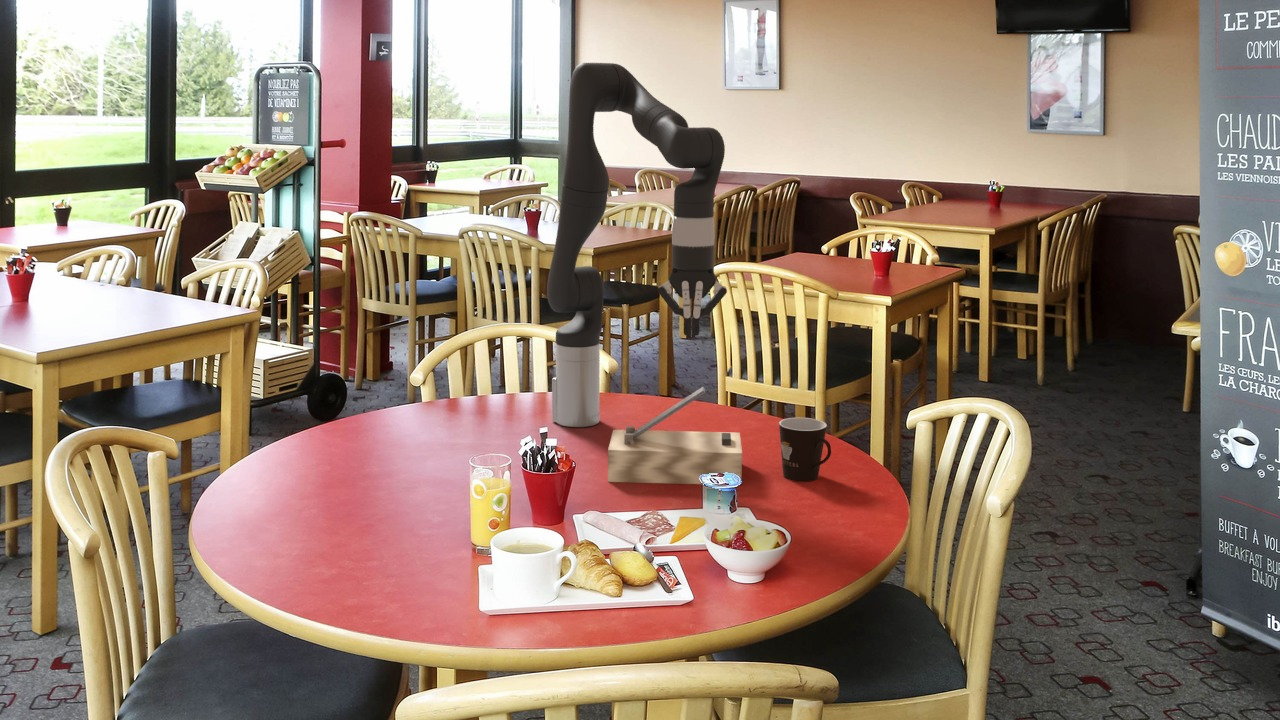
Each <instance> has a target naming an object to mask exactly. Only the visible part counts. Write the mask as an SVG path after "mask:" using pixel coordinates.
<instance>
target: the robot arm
mask: <svg viewBox="0 0 1280 720" xmlns="http://www.w3.org/2000/svg"><path fill="white" fill-rule="evenodd" d="M570 79H571V80H570V82H569V83H570V85H569V99H568V100H569V101H568V103H569V104H568V126H567V127H568V130H567V131H568V132H567V133H568V134H567V145H566V146H567V147H566V154H565V155H566V156H565V164H564V165H565V166H564V172H563V176H562V177H563V178H562V184H561V193H560V203H559V205H560V206H559V215H558V216H559V217H558V224H557V232H556V238H555V244H554V248H553V253H552V259H551V263H550V268H549V272H548V278H547V284H546V286H547V287H546V295H547V302H548V305H549V306H550V308H551V310H553V311H554V312H556V313H560V314H562V313H563V314H565V313H575V315H574V316H573V318H572V319H571V320H570V321H569V322H567V323H566V324H563V325H562V326H560V327H558V328H557V330H556V332H555V376H554V377H553V378H552V379H551V399H552V400H551V405H552V406H551V407H552V409H551V414H552V415H551V416H552V417H551V418H552V419H551V420H552V421H551V422H553V423H557V424H558V425H560V426H562V427H563V426H564V427H570V428H586V427H592V426H595V425H597V424H599V423H600V413H601V412H600V381H601V378H600V375H601V374H600V362H601V360H600V358H601V357H600V353H601V352H600V348H601V347H600V338H601V333H602V329H603V328H602V327H603V313H604V299H605V298H604V294H605V293H604V291H605V290H604V281H603V276H602V275H601V273H600V271H599V270H598V268H597V267H594V266H591V265H589V266H586V265H585V266H576V265H577V261H578V258H579V255H580V252H581V249H582V248H583V246H584V245H585V243H586V241H587V240H588V239H589V237H590V236H591V235H592V233H593V232H594V230H595V229H597V226H598V225H599V223H600V222H601V220H602V218H603V216H604V214H605V211H606V208H607V202H608V196H609V188H610V187H609V186H610V177H609V173H608V170H607V167H606V165H605V162H604V160H603V158H602V156H601V154H600V152H599V149H598V147H597V145H596V141H595V136H594V134H595V133H594V123H595V116H596V115H595V114H596V113H612V112H615V111H616V112H622V113H625V114H627V115H630V116H631V121H632V122H631V123H632V124H633V127H634V129H635V131H636V132H637V133H638V134H639V135H640V136H641V137H643V138H644V139H645V140H646V141H648V142H650V143H651V144H652V145H654V146H655V147H657V150H659V151H658V152H660V154H661V155H662V156H663V158H664V159H665V161H666V162H667V163H668V164H669V165H670V166H672V167H675V168H677V169H682V170H685V169H686V170H689V169H694V170H693V173H692V176H691V178H690V179H689V180H687V181H683V182H681V183H679V184H676V186H675V188H674V193H673V222H672V231H671V272H670V274H669V276H668V280H667V281H665V283H663V284H660V285H658V288H657V292H658V294H659V296H661V298H662V299H663V301H664V302H665V304H666V305H667V306H668V307H669V308H670V309H671V311H672V312H673V313H674V314H675V315H678V316H681V317H682V319H683V334H684V336H686V337H687V338H686V339H688V340H689V339H692V340H693V339H696V336H697V337H698V336H699V334H700V319H701V318H702V317H704V316H709V315H710V313H712V311H713V310H714V309H715V308H716V306H717V305H719V303H720V302H721V301H722V300H723V298H724V297H725V296H726V294H727V292H728V289H727V287H726V286H724V285H722V284H721V283H720V282H718V281H717V276H716V274H715V240H716V235H715V232H716V231H715V223H714V222H715V221H714V213H715V212H714V209H715V208H714V207H715V203H714V202H715V201H714V199H715V192H716V188H717V185H718V181H719V177H720V173H721V170H722V166H723V165H724V164H723V163H724V159H725V153H726V151H725V147H726V145H725V141H724V139H723V136H722V134H721V133H720V132H719V130H717V129H716V128H713V127H710V126H709V127H707V126H706V127H703V126H702V127H689V123H688V121H687V120H686V118H685V117H684V116H683V115H682V114H680V113H679V112H677V111H675V110H673V109H672V108H671V107H669V106H667V105H666V104H664V103H663V102H661V101H660V100H659V99H657V98H655V97H654V96H653V95H652V94H651V93H650V92H649V90H647V89H646V88H645V86H644V85H642V83H641V82H640V81H639V80H638V79H637V78H636V77H635V76H634V75H633V74H632V73H631V72H630V71H629V70H628V69H627V68H625V67H624V66H622V65H621V64H618V63H613V62H612V63H611V62H582V63H578V65H576V67H575V68H574V70H573V71H572V75H571V78H570ZM672 288H673V290H674V291H675V292H676V294H677V295H678V296H679V298H681V299H682V305H683V306H682V307H681V306H680V305H679V303H678V302H677V300H675V298H674V297H673V296H672ZM712 288H713V290H712V293H713V296H712V297H711V298H710V299H709V300H708V302H707V303H706V304H705V305H704V306H703V307H702V299H704V298H706V296H707V295H708V294H709V292H710V291H711V289H712ZM691 299H694V301H693V312H692V316H691Z"/></svg>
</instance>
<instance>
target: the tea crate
mask: <svg viewBox="0 0 1280 720" xmlns="http://www.w3.org/2000/svg"><path fill="white" fill-rule="evenodd" d="M635 430H636V426H629V425H628V426H627V425H626V426H625V429H613V430H612V433H611V437H610V440H609V441H610V442H609V445H608V448H607V449H608V450H607V482H608V483H636V484H638V483H639V484H641V483H643V484H644V483H645V484H680V485H681V484H683V485H702V484H701V483H700V480H699V476H700V475H702V474H709V473H725V472H728V473H734V474H736V475H738V476H739V477H740V478H741V479H742V468H743V465H742V464H743V450H742V449H743V448H742V440H741V432H734V431H733V432H731V431H730V432H727V431H692V430H691V431H689V430H688V431H687V430H686V431H685V430H650V429H649V430H647V431H646V432H644V433H643V434H641V435H639V436H638V437H636V438H635V439H633V435H634V433H632V432H634V431H635Z"/></svg>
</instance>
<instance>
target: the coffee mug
mask: <svg viewBox="0 0 1280 720" xmlns="http://www.w3.org/2000/svg"><path fill="white" fill-rule="evenodd" d="M827 425H828V424H827V423H826V422H825V421H822V420H820V419H816V418H810V417H788V418H784V419H781V420H780V421H779V422H778V427H779V439H780V441H779V442H780V451H781V452H780V454H781V465H782V476H783V478H785V479H786V480H788V481H793V482H797V483H806V482H814V481H816V480H818V478H819V474H820V469H821V465H822V464H825V463H826V462H827V461H828V460H829V459H830V458H831V455H832V448H831V444H830V442H829V441H828V439H826V433H827ZM824 444H825V445H826V449H827V454H826V456H825V457H824V459H822V457H823V456H822V455H823V450H824Z"/></svg>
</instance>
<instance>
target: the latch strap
mask: <svg viewBox="0 0 1280 720" xmlns="http://www.w3.org/2000/svg"><path fill="white" fill-rule="evenodd" d="M705 393H706V388H705V387H704V386H702V387H700V388H699V389H697V390H696V391H694V392H692V393H691V394H689V395H687V396H686V397H685V398H683V399H681V400H680V401H678V402H677V403H676V404H673V405H672V406H671V407H669V408H668V409H666V410H664V411H663V412H662V413H660V414H658V415H656V416H655V417H653V418H652V419H650V420H649V421H647V422H646V423H644V424H643V425H641V426H639V428H636V429H635V431H634V432H632V433H634V435H633V439H635V438H636V437H638V436H639V435H641V434H643V433H644V432H646V431H647V430H650V429H652V428H654V427H655V426H657V425H658V424H660V423H662V421H664V420H666V419H667V418H669V417H671V416H672V415H673V414H675V413H677V412H678V411H680V410H681V409H683V408H684V407H686V406H687V405H689V404H691V403H692V402H694V401H695V400H697V399H698V398H700V397H702V395H704V394H705Z"/></svg>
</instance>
